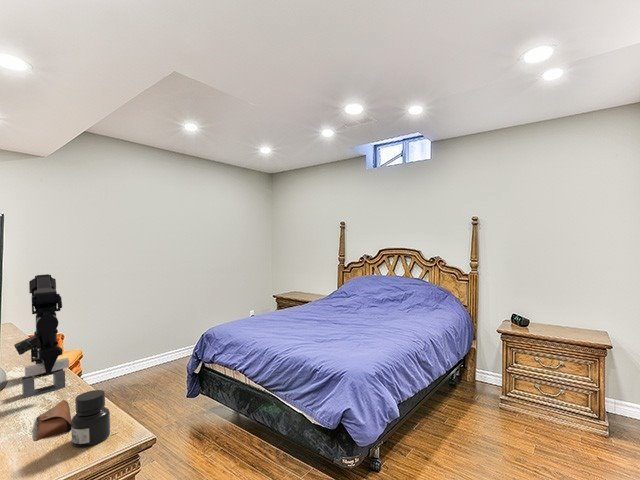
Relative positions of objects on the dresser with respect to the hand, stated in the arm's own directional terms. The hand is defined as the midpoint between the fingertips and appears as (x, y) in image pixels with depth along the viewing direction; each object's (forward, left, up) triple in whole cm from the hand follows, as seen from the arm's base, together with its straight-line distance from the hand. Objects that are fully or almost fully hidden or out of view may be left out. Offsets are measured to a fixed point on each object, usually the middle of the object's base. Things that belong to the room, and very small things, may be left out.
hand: (47, 372), depth 122 cm
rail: (0, 0, 0) cm, 0 cm away
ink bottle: (+41, +4, -10) cm, 42 cm away
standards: (-10, 0, -9) cm, 14 cm away
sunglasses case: (+23, -2, -10) cm, 25 cm away
